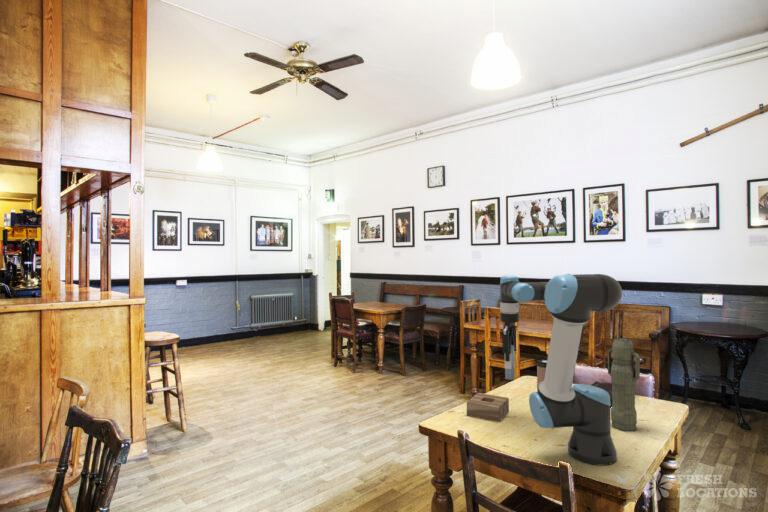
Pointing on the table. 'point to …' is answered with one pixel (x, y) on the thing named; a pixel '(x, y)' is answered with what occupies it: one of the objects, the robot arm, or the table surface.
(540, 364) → the travel mug
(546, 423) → the robot arm
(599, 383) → the diary
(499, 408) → the bore block
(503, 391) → the table surface
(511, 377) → the dowel pin
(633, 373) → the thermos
